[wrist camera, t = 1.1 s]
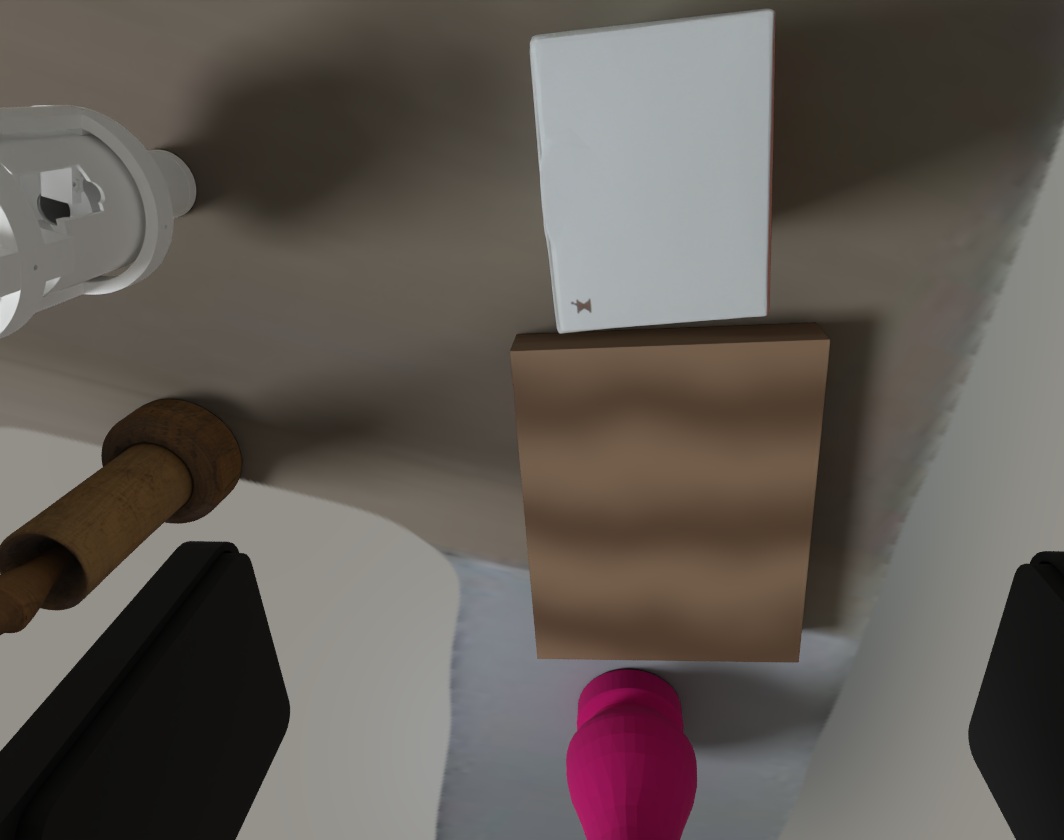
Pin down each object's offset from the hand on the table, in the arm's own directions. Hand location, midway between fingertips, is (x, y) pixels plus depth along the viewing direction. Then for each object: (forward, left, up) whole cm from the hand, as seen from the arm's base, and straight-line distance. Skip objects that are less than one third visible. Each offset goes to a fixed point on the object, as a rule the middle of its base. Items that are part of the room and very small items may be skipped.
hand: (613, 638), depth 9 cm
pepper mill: (+28, 0, -27) cm, 39 cm away
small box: (-4, +1, -27) cm, 27 cm away
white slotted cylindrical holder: (-4, -21, -27) cm, 34 cm away
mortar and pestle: (+10, -24, -27) cm, 37 cm away
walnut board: (+13, +2, -27) cm, 30 cm away
